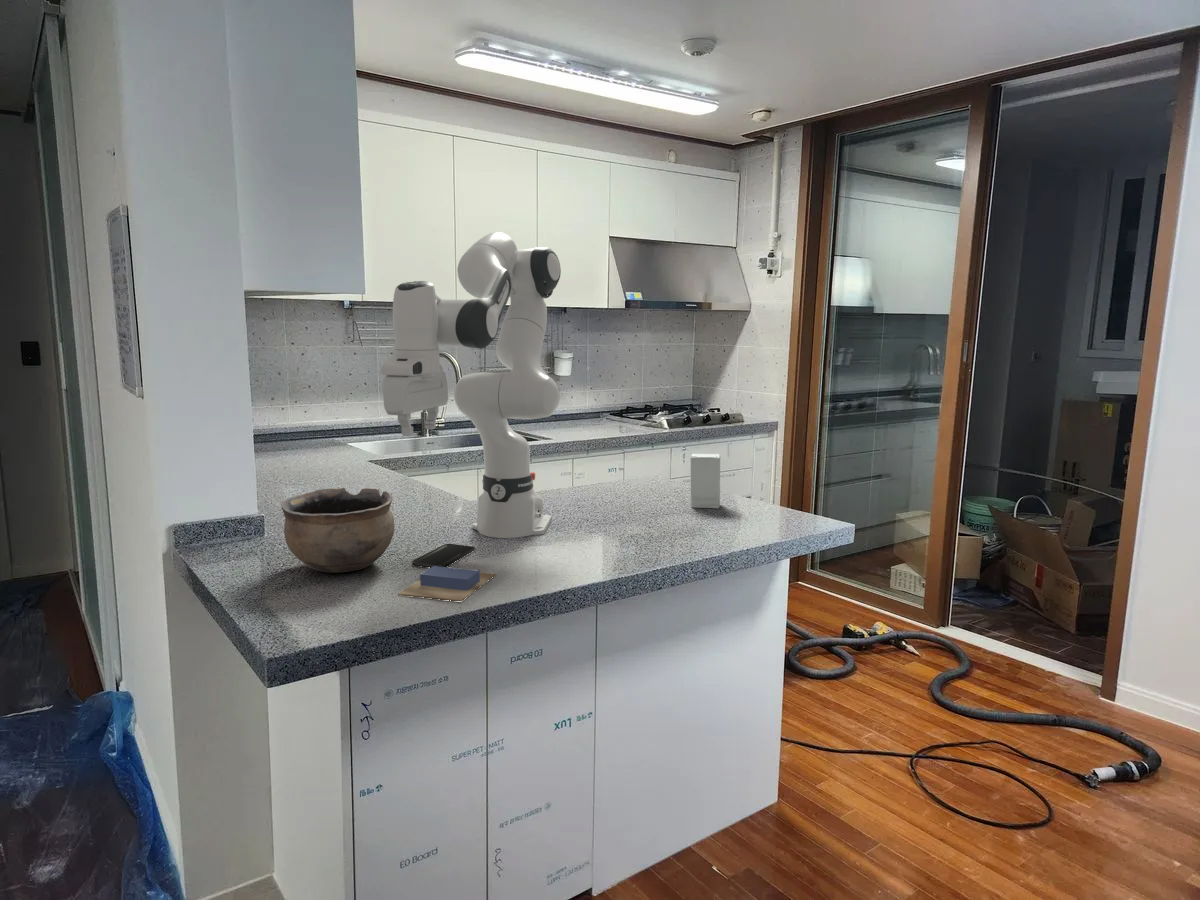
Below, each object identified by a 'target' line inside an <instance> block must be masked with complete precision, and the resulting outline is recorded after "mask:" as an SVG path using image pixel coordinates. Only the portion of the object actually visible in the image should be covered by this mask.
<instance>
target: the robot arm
mask: <svg viewBox="0 0 1200 900" xmlns="http://www.w3.org/2000/svg"><path fill="white" fill-rule="evenodd" d="M458 261H459V262H458V265H457V277H458V281H459V283H460V285H461V286H462V288H463V289H464V290H465V291H466V292H467V293H468V294H469V295H471V296H473V297H475V298H473V299H472V298H469V299H444V298H441V297H440V296H438V295H437V293H436V289H435V286H434V284H433V283H432V282H429V281H425V280H420V281H419V280H417V281H416V280H415V281H406V282H402V283H400V284H398V285H397V286H396V287H395V288H394V293H393V300H392V328H393V331H394V337H395V340H394V345H393V355H391V356H390V358H389V359H387V360H386V361H384V362H383V363H382V364H381V366H380V367H381V368H380V371H381V374H382V376H385V377H384V378H383V381H382V394H383V395H382V396H383V399H382V400H383V407H384V410H385V413H386V414H387V415H389V416H397V421H398V424H399V425H400V427H401V435H402V436H403V437H411V436H413V435H414V426H412V424H411V420H410V419H411V418H412V414H413V413H417V412H422V411H425V410H426V412H427V415H426V420H424V428H425V430H435V429H436V427H437V418H438V415H439V412H440V411H439V407H442V406H446V405H448V402H449V388H448V379H447V375H446V372H445V371H444V370H443V369H444V368H443V366H442V365H441V363H440V346H441V347H443V346H444V347H461V348H462V347H466V348H471V349H472V348H473V349H485V348H487V347H488V346H489V345H491V344H492V343H493V341H494V340H495V338H496V337H497V334H498V331H499V325H500V320H501V318H502V315H503V314H504V311H505V308H506V306H507V304H508V301H509V298H510V303H509V306H508V308H507V310H506V313H505V315H504V317H503V321H502V324H501V327H500V331H499V336H498V339H497V343H496V346H495V355H496V357H497V360H499V362H500V363H501V364H502V365H503V366H504V367H505V368H506V369H508V370H510V371H508V372H490V371H489V372H484V371H483V372H482V371H481V372H474V373H470V374H465V375H462V376H461V378H459V380H458V381H457V383H456V384H455V388H454V394H453V396H454V401H455V402H454V403H455V404H456V407H457V409H458V410H459V411H460V413H462V414H463V415H465V416H466V417H467V419H469V420H470V422H472V423H473V425H474V428H475V429H476V431H477V432H478V435H479V437H480V440H481V444H482V451H483V460H484V461H483V464H484V467H483V468H484V474H483V475H482V480H481V481H482V490H483V492H482V493H481V494H480V495H479V496H478V497H477V517H476V522H474V523H472V527H471V528H472V529H474V530H476V531H478V533H479V534H481V535H482V536H485V537H491V538H498V539H499V538H500V539H504V538H505V539H512V538H523V537H526V536H535V535H537V536H538V535H543V534H545V533H546V531H547V530H548V528H549V526H550V524H551V523H552V520H553V519H552V515H550V514H545V513H544V506H543V505H544V504H543V498H542V497H541V496H540V495H539V494H538V493H537V492H536V491H535V489H533V488H534V481H535V480H536V472H534V471H532V472H531V455H530V454H531V446H530V444H529V442H528V440H527V439H526V438H525V437H524V436H522V435H521V434H519V433H517V432H516V431H514V430H513V429H512V427H511V426H510V424H509V421H508V419H511V420H513V419H515V420H537V419H542V418H543V419H544V418H549V417H551V416H552V415H553V414H554V413H555V411H556V410H557V408H558V406H559V403H560V391H559V388H558V384H557V383H556V381H555V380H554V379H553V378H552V377H550V376H549V375H548V374H547V373H546V372H545V370H544V369H543V367H542V363H541V357H542V349H543V345H544V340H545V335H546V331H547V324H548V308H547V303H546V301H545V299H549V298H550V297H551V296H552V294H554V293H553V292H554V290H555V289H556V287H557V286H558V284H559V281H560V278H561V269H562V268H561V264H560V260H559V257H558V255H557V254H556V252H554V251H553V249H552V248H549V247H544V246H537V247H534V248H523V249H518V247H517V245H516V243H515V241H514V240H513V239H512V238H511V237H510V236H509V235H508V234H505V233H504V232H495V231H494V232H489V233H488V234H486V235H484V236H483V237H481V238H480V239H478V240H477V241H476V242H474V243H473V244H472V245H471V246H470V247H469V248H468V249H467V250H466V251H465V252H464V254H463V255H462V256H461V257H460V260H458Z"/></svg>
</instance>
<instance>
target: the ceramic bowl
mask: <svg viewBox="0 0 1200 900" xmlns="http://www.w3.org/2000/svg"><path fill="white" fill-rule="evenodd" d="M392 501H393V495H392V493H390V492H388V491H382V493H381V490H380V489H377V488H368V487H365V488H362V489H360V491H359V492H358V493H357V494H354V493H350V492H348V491H347V489H346V488H345V487H334V488H333V487H330V488H323V489H318V490H314V491H312V492H311V491H310V492H307V493H304V494H300V495H299V494H298V495H294V496H291V497H289V498H287V499H285V500H283V501H282V502H281V505H280V506H281V510H282V512H283V515H284V516H283V517H284V527H283V528H284V529H283V532H284V533H283V534H284V539H285V542H286V546H287V547H288V549H289V551H290V552H291V553H292V555H293V556H295V557H296V558H297V560H299V561H300V562H302V563H303V564H304V565H305V566H306V567H308V568H310V569H312V570H314V571H317V572H321V573H322V572H323V573H346V572H355V571H360V570H362V569H364V568H368V567H369V566H370V565H372V564H374V563H375V562H376V561H377V560H378V559H379V558H380V557H382V556H383V554H385V552H386V550H387V549H388V548H389V546H390V543H391V541H392V540H393V537H394V534H395V530H396V529H395V517H394V515H393V512H392V510H391V508H390V507H391V505H392Z"/></svg>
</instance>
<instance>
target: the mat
mask: <svg viewBox="0 0 1200 900" xmlns="http://www.w3.org/2000/svg"><path fill="white" fill-rule="evenodd" d="M495 575H497V574H496V573H493V572H485V571H483V572H482V571H480V582H478V583H477V584H476V585H474V586H473V587H472V588H470V589H469V590H468V591H467V590H458V589H449V588H440V587H431V586H422V585H420V579H418V580H417V581H415V582H414V583H412V584H410V585H408V586H407V587H406V588H404V589H403V590H401V591H400V592H398V593H397V596H399V595H401V597H407V596H413V597H412V598H416V597H424V598H423V599H425V598H432V599H431V600H433V599H440V600H439V601H442V600H449V601H448V602H450V600H451V601H462V600H464V599H465V598H466V597H468V596H469V595H470V594H472V593H473V592H474V591H475V590H477V589H478V588H479V587H480V586H482V585H483V584H484V583H486V582H487V581H488V580H490V579H491V578H492V577H493V578H495V577H496V576H495ZM494 576H495V577H494ZM493 578H492V579H493ZM492 579H491V580H492ZM491 580H490V581H491ZM488 582H489V581H488ZM488 582H487V583H488ZM487 583H486V584H487ZM484 585H485V584H484ZM484 585H483V586H484ZM483 586H482V587H483ZM479 589H480V588H479ZM479 589H478V590H479ZM478 590H477V591H478ZM474 593H475V592H474ZM474 593H473V594H474ZM473 594H472V595H473ZM470 596H471V595H470ZM470 596H469V597H470ZM469 597H468V598H469ZM465 600H466V599H465ZM465 600H464V601H465Z"/></svg>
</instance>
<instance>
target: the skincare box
mask: <svg viewBox="0 0 1200 900" xmlns="http://www.w3.org/2000/svg"><path fill="white" fill-rule="evenodd" d="M720 504H721V453H692V454H691V457H690V508H691V509H692V508H697V509H720Z"/></svg>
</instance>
